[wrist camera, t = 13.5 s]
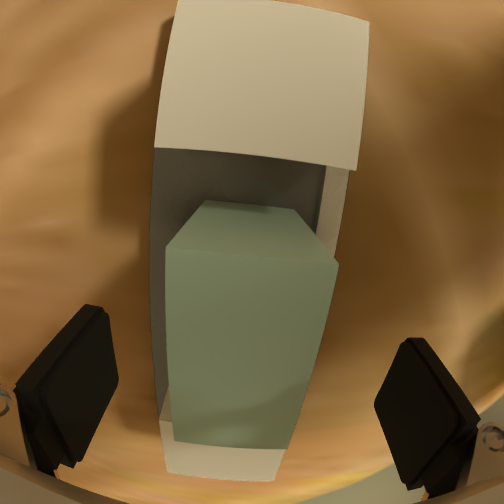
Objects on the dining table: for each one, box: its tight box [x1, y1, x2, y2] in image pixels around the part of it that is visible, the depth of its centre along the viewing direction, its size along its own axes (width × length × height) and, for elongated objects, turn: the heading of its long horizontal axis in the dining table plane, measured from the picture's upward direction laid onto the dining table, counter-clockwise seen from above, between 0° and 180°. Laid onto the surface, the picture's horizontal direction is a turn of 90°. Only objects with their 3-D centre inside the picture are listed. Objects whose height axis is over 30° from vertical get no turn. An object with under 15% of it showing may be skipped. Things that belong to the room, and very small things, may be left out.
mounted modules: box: [154, 0, 369, 482], centre depth 14 cm, size 25×7×5 cm, turn 173°
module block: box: [165, 200, 339, 449], centre depth 13 cm, size 8×4×8 cm, turn 174°
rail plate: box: [149, 147, 350, 417], centre depth 17 cm, size 30×10×2 cm, turn 173°
